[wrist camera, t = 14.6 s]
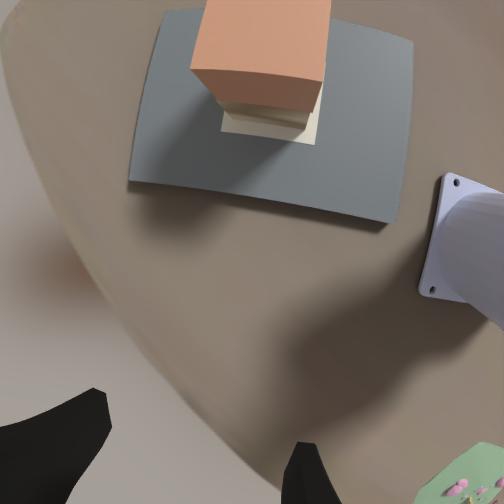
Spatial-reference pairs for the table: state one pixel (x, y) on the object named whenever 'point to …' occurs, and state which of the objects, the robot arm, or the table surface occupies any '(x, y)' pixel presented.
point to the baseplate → (279, 137)
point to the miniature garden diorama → (467, 478)
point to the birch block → (266, 114)
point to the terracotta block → (263, 51)
